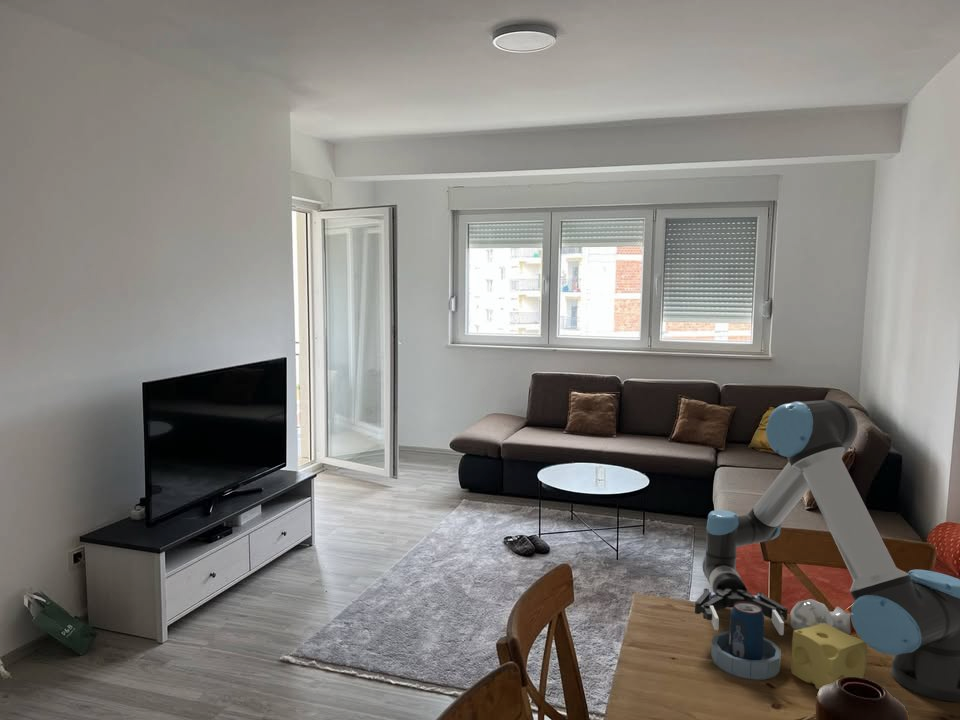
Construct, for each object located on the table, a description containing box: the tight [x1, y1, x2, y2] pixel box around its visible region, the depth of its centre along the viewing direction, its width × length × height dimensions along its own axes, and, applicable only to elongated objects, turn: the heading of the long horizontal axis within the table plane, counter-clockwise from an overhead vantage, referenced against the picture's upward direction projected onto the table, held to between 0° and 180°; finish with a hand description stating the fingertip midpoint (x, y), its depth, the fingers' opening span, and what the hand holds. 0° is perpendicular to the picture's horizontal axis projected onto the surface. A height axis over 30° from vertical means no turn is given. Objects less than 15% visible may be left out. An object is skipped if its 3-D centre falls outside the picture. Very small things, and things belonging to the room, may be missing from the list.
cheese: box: [790, 623, 868, 690], centre depth 150 cm, size 10×11×10 cm
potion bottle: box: [790, 598, 858, 636], centre depth 169 cm, size 9×10×15 cm
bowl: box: [710, 631, 782, 681], centre depth 157 cm, size 14×14×4 cm
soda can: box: [729, 601, 765, 660], centre depth 157 cm, size 7×7×12 cm
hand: (749, 626), depth 154 cm, fingers open, 13 cm apart
